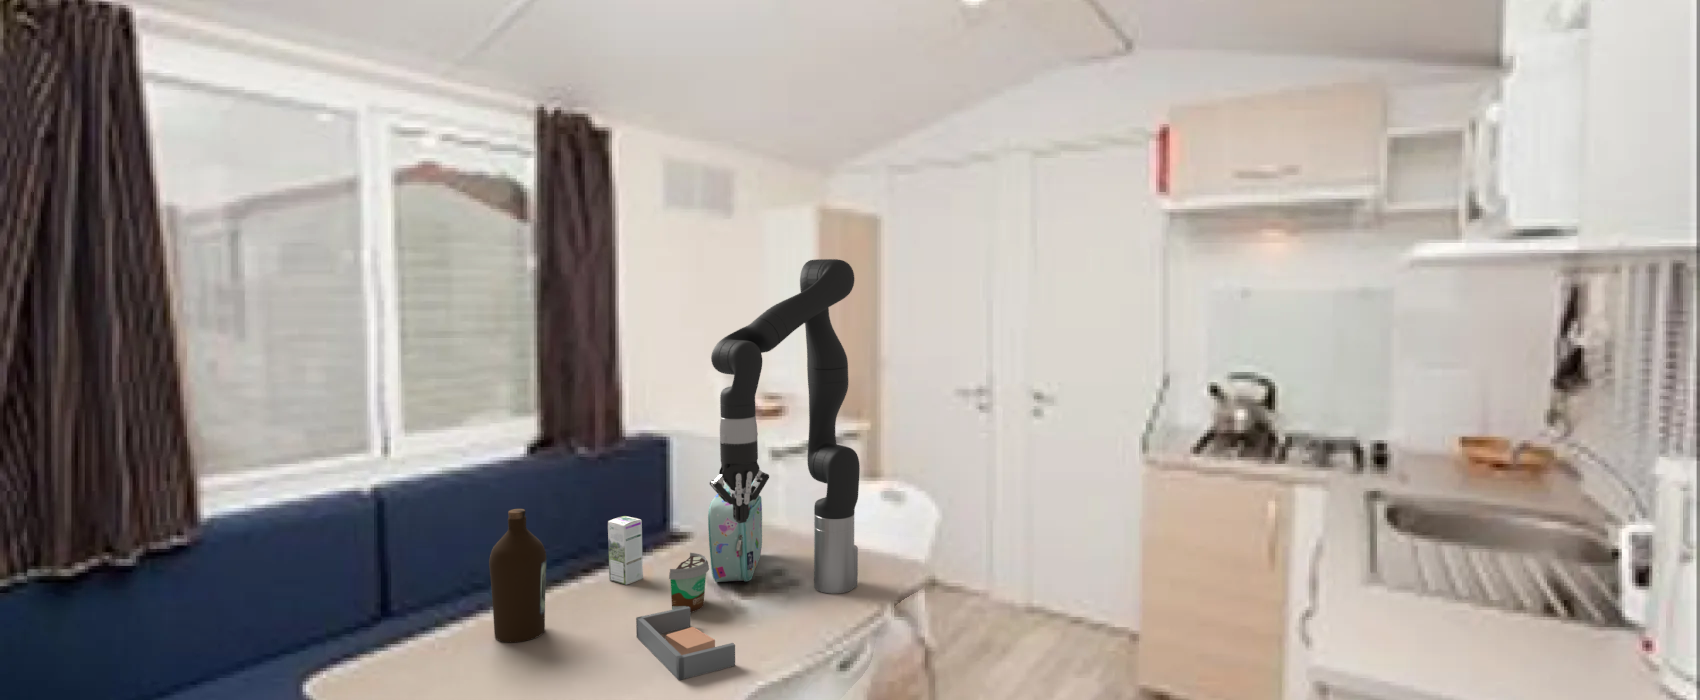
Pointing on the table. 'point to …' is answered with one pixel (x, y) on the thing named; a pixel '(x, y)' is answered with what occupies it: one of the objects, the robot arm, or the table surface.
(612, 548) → the syrup box
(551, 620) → the table surface
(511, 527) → the olive oil
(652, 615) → the box
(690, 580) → the food container
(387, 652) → the table surface
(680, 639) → the tile
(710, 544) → the lunch box
